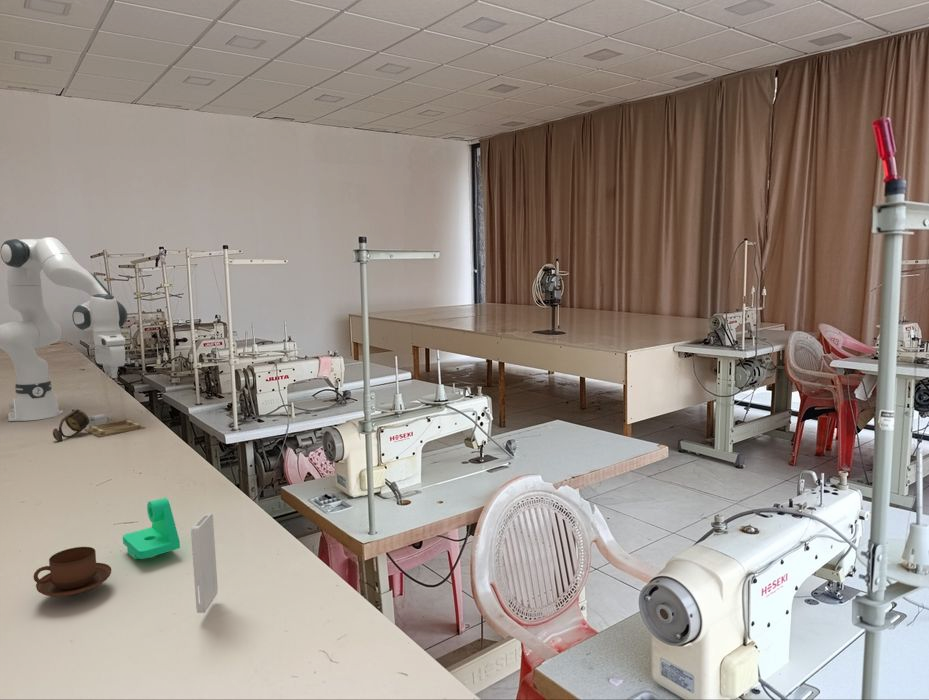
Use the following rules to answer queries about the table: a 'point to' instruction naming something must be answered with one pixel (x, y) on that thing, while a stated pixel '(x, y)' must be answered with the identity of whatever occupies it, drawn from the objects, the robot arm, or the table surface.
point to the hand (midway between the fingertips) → (111, 377)
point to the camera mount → (154, 532)
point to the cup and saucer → (72, 573)
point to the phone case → (204, 562)
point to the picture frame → (113, 428)
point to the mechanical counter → (72, 423)
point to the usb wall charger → (98, 419)
